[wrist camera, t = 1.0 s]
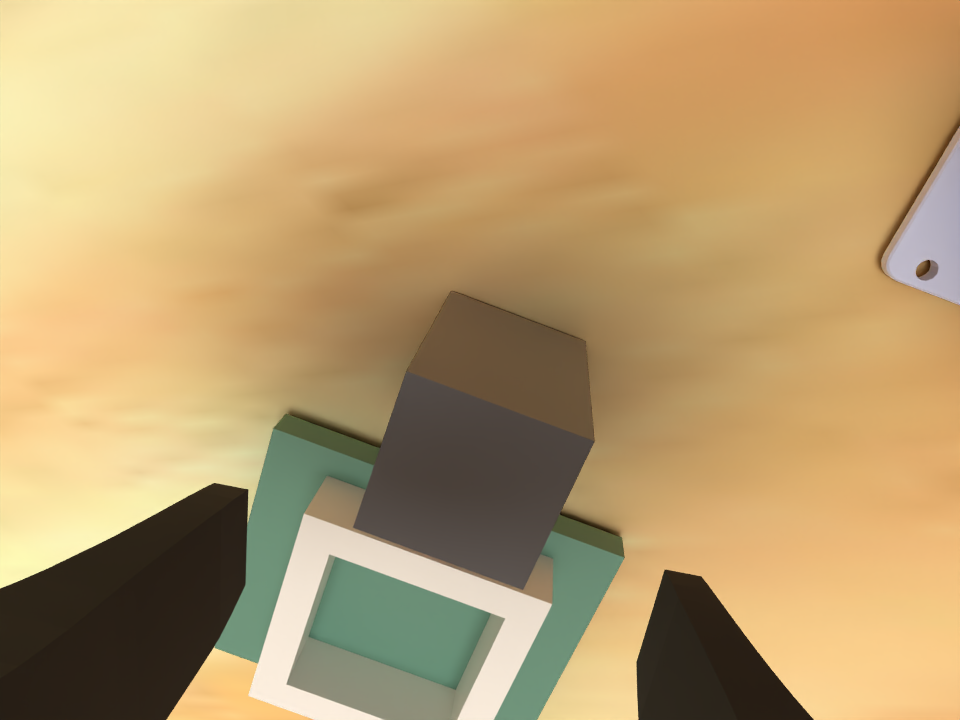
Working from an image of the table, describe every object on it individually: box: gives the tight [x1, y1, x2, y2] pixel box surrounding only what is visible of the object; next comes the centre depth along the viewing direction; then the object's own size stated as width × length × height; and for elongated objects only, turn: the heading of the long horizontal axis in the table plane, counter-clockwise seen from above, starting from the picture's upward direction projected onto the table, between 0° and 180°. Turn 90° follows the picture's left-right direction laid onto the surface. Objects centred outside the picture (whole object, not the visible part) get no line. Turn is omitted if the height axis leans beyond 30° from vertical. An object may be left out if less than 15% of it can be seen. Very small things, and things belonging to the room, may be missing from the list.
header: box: [248, 476, 553, 720], centre depth 21 cm, size 7×7×2 cm
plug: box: [353, 291, 595, 590], centre depth 18 cm, size 4×6×6 cm
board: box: [215, 414, 625, 720], centre depth 23 cm, size 11×9×1 cm
